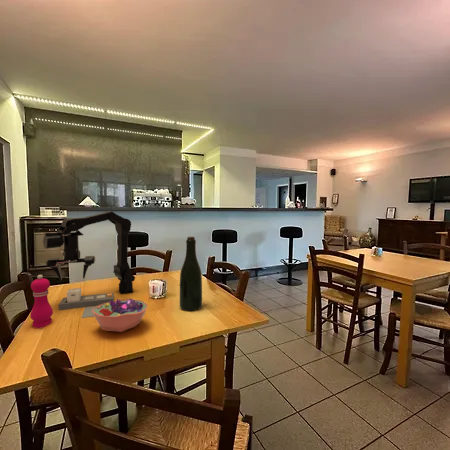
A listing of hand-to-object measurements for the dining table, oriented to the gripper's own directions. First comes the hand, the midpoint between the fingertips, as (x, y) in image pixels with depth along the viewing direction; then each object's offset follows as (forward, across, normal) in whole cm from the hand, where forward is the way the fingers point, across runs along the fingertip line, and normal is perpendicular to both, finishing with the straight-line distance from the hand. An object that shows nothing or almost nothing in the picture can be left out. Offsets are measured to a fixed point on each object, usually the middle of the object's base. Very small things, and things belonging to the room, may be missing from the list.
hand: (72, 279), depth 120 cm
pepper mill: (+13, +8, +17) cm, 23 cm away
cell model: (+13, -21, +30) cm, 39 cm away
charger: (+12, 0, 0) cm, 12 cm away
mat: (+12, -11, +11) cm, 20 cm away
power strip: (+13, -6, 0) cm, 14 cm away
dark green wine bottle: (+13, -51, +19) cm, 56 cm away
